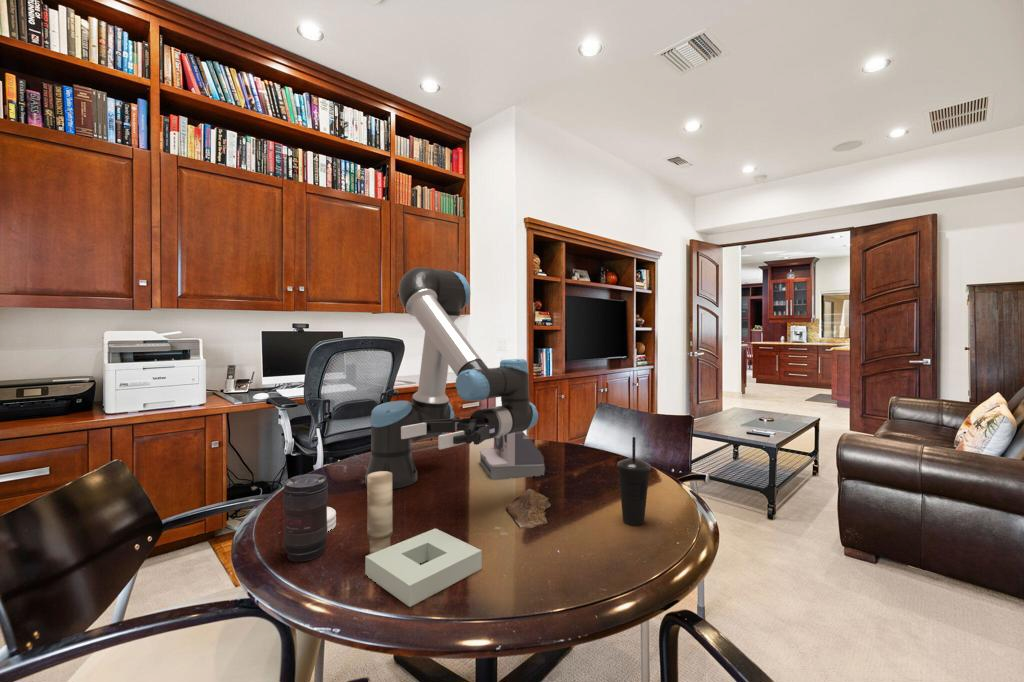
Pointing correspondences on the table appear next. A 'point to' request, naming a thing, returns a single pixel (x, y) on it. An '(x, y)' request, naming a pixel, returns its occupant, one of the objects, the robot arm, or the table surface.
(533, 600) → the table surface
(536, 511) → the wooden fragment
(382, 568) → the board
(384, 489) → the leg
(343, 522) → the table surface
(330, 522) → the coaster
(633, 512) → the drinking cup
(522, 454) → the instant camera
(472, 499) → the table surface
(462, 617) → the table surface
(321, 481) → the camera lens
